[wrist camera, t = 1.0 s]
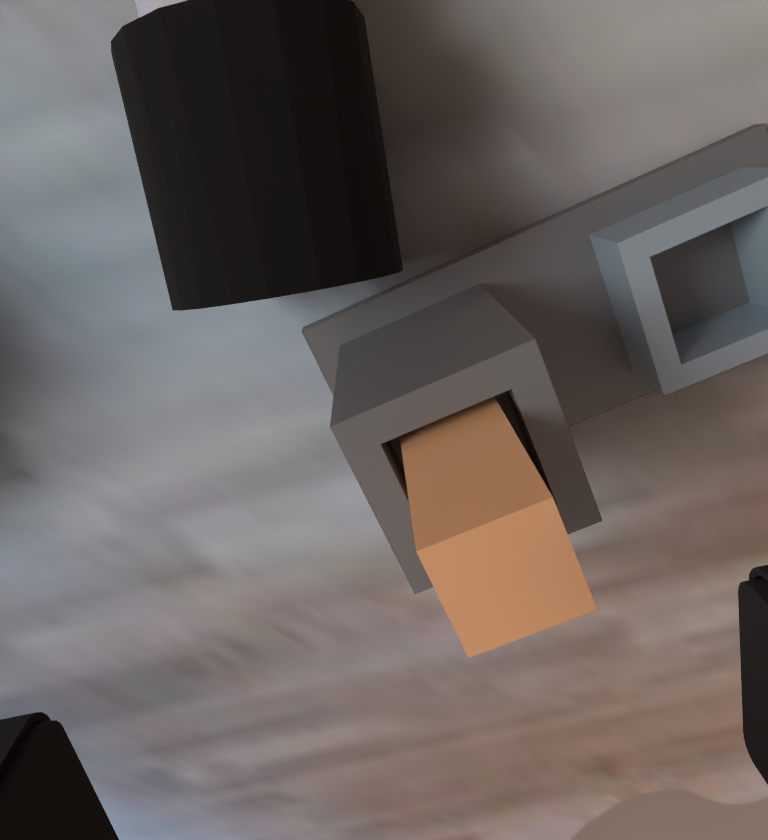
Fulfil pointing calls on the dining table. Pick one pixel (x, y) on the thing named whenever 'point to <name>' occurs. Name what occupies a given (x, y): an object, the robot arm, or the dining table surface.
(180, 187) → the cable
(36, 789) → the robot arm
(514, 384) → the socket stand
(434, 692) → the dining table surface
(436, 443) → the peg
